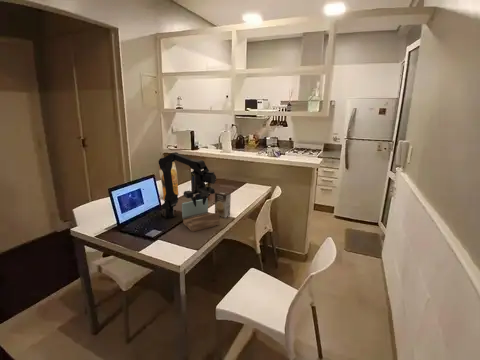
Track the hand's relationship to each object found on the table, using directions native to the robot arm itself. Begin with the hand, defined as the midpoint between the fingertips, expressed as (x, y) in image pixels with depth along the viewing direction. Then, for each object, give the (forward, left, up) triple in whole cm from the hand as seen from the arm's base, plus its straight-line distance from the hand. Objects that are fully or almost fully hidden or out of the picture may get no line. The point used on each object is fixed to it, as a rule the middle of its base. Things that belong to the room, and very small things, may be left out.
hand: (199, 205), depth 167 cm
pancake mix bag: (-57, +2, -12) cm, 58 cm away
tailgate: (-6, 0, -9) cm, 11 cm away
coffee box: (-4, +19, -12) cm, 23 cm away
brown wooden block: (+2, 0, -12) cm, 12 cm away
